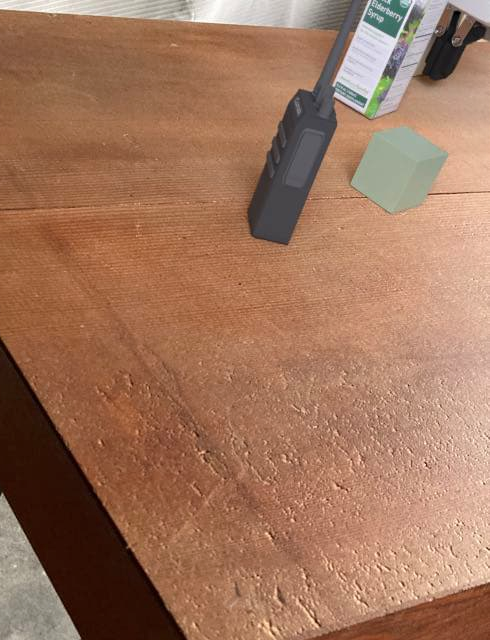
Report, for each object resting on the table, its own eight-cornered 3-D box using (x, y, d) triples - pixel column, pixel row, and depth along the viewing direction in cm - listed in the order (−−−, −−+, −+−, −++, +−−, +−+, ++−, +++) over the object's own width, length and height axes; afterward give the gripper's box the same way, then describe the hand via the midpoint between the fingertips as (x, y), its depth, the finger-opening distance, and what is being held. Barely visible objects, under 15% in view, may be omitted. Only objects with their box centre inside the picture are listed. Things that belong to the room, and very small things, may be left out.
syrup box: (325, 95, 102) (390, -59, 91) (354, 86, 105) (418, -62, 95) (370, 121, 100) (441, -32, 89) (397, 111, 103) (468, -37, 93)
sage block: (422, 205, 89) (449, 153, 86) (390, 214, 86) (417, 161, 83) (381, 176, 91) (406, 125, 88) (349, 184, 89) (373, 131, 85)
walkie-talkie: (243, 208, 81) (346, -58, 66) (282, 217, 81) (392, -45, 67) (248, 238, 77) (357, -34, 63) (288, 248, 78) (406, -20, 64)
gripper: (605, -78, 96) (504, 105, 109) (484, -137, 102) (402, 43, 115) (570, -78, 92) (469, 113, 105) (445, -140, 98) (364, 48, 111)
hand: (434, 76), depth 110 cm, fingers closed
